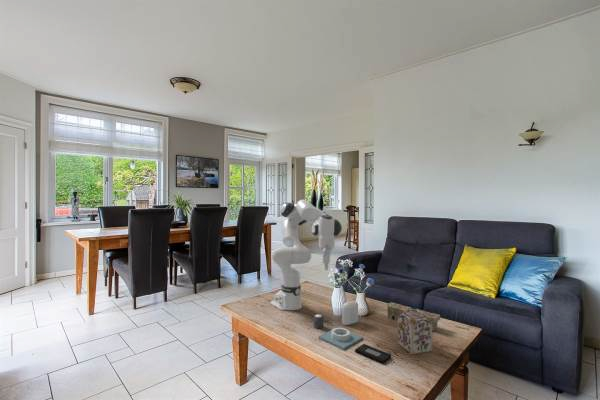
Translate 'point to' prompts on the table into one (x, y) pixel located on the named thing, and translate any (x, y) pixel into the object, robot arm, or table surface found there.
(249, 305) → the table surface
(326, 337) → the dock
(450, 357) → the table surface
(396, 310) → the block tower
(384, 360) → the vhs tape
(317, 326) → the dark grey block
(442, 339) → the table surface
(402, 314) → the decorative jar
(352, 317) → the photo printer
